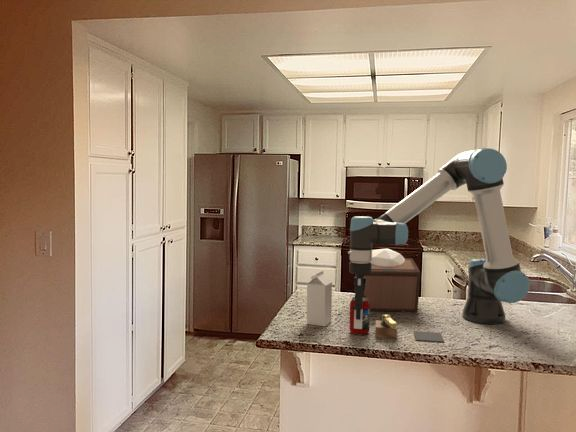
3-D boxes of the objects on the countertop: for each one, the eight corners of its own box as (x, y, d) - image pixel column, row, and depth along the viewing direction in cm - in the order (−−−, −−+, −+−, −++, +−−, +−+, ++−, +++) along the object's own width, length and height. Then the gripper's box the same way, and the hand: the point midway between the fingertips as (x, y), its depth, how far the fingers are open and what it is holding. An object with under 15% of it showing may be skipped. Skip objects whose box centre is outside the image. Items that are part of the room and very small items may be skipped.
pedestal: (396, 331, 162) (396, 320, 162) (396, 338, 154) (397, 327, 154) (375, 330, 164) (375, 318, 163) (375, 337, 156) (375, 325, 155)
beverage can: (368, 336, 157) (369, 301, 156) (348, 335, 158) (349, 300, 157) (369, 330, 163) (370, 296, 162) (350, 328, 165) (350, 295, 164)
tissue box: (357, 319, 189) (359, 264, 182) (352, 288, 216) (354, 239, 209) (417, 320, 188) (422, 265, 181) (405, 289, 215) (408, 239, 207)
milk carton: (331, 321, 173) (332, 271, 172) (324, 327, 167) (325, 274, 165) (313, 319, 176) (314, 269, 175) (306, 324, 170) (307, 273, 168)
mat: (440, 333, 160) (440, 332, 160) (444, 342, 151) (444, 341, 151) (413, 332, 162) (413, 330, 162) (415, 340, 153) (415, 339, 153)
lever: (397, 328, 151) (397, 322, 151) (389, 329, 151) (389, 322, 150) (388, 320, 160) (389, 314, 160) (381, 320, 160) (381, 314, 160)
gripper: (351, 255, 172) (350, 312, 173) (346, 267, 147) (345, 332, 149) (372, 256, 170) (370, 313, 172) (370, 268, 146) (369, 334, 148)
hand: (358, 322), depth 160 cm, fingers open, 13 cm apart
